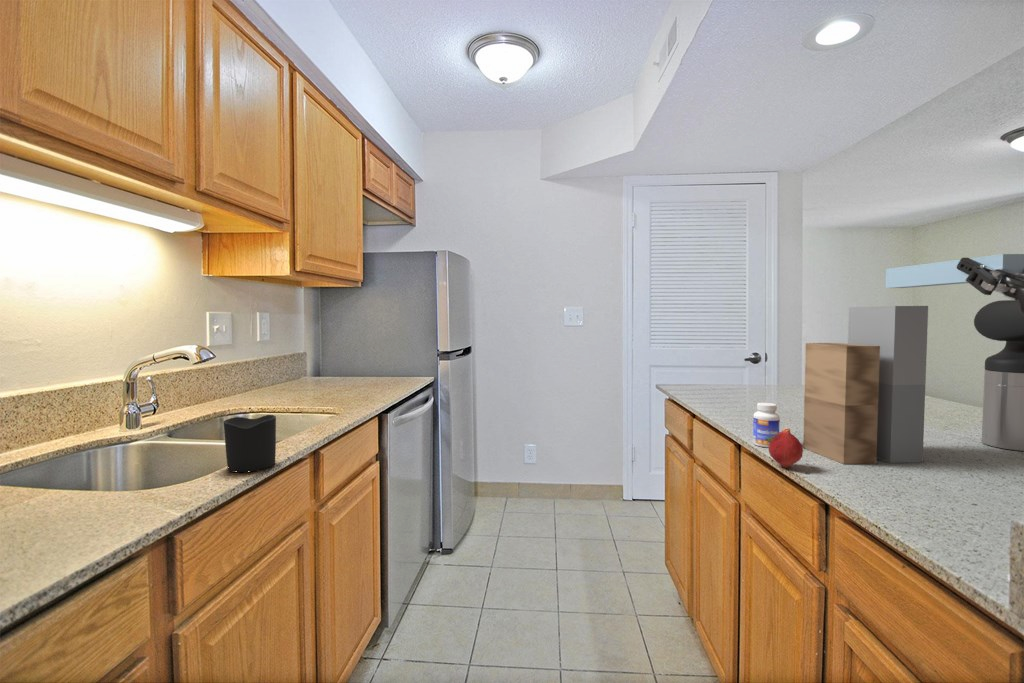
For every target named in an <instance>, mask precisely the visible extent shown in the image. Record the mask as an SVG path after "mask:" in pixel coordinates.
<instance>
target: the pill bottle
mask: <svg viewBox="0 0 1024 683" xmlns="http://www.w3.org/2000/svg"><path fill="white" fill-rule="evenodd" d="M777 408H778V407H777V404H776V403H771V402H757V404H756V409H757V411H755V412H754V413H753V421H752V425H753V427H752V428H753V429H752V444H753V445H754V446H757V447H761V448H766V449H767V448H768V449H769V443H770V441H771V440H772V438H773V437H774V436H775V435H776V434H778V433H780V421H781V420H780V419H781V417H780V415H779V414H778V413H776V411H777Z"/></svg>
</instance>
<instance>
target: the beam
mask: <svg viewBox="0 0 1024 683" xmlns="http://www.w3.org/2000/svg"><path fill="white" fill-rule="evenodd" d="M969 258H970V259H972V260H974V261H977V262H979V263H981V264H983V265H987V266H989V267H992V268H994V269H1001V268H1002V269H1007V270H1010V271H1013V272H1016V273H1019V274H1024V273H1022V271H1023V269H1024V253H1001V254H993V255H987V256H986V255H984V256H978V257H969ZM960 260H961V259H954V260H945V261H938V262H931V263H924V264H915V265H907V266H900V267H899V266H898V267H892V268H890V267H889V268H886V269H885V289H908V288H909V289H910V288H921V287H923V288H924V287H934V286H946V285H947V286H948V285H950V286H951V285H960V284H962V285H963V284H969V283H968V282H967V281H966V279H967V277H968V276H969V275H968V274H966V273H964V272H962V271H960V270H958V269H957V265H958V263H959V262H960ZM988 273H990V272H988ZM990 274H991V275H992V273H990ZM1004 276H1005V275H1004V274H1002V275H1001V276H1000V277H999V279H1000V281H1001V279H1002V278H1003V277H1004ZM1000 281H999V282H1000Z"/></svg>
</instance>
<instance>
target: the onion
mask: <svg viewBox="0 0 1024 683" xmlns="http://www.w3.org/2000/svg"><path fill="white" fill-rule="evenodd" d="M803 449H804V448H803V445H802V443H801V441H800V440H799V439H798V438H797V436H795V435H793V434H792V433H791V429H790V427H786V428H784V429H783V430H782V431H781V432H780V431H779V433H778V434H776V435H775V436H774V437H773V438H772V440H771V441H770V443H769V448H768V454H769V455H770V457H771V458H772V459H773V461H775V462H776V463H777V464H778V465H780V466H781V467H783V468H785V469H788V468H790V467H791V466H792V465H794V464H796V463H798V462H799V461H800V460H801V458H802V457H803V451H804V450H803Z"/></svg>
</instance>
